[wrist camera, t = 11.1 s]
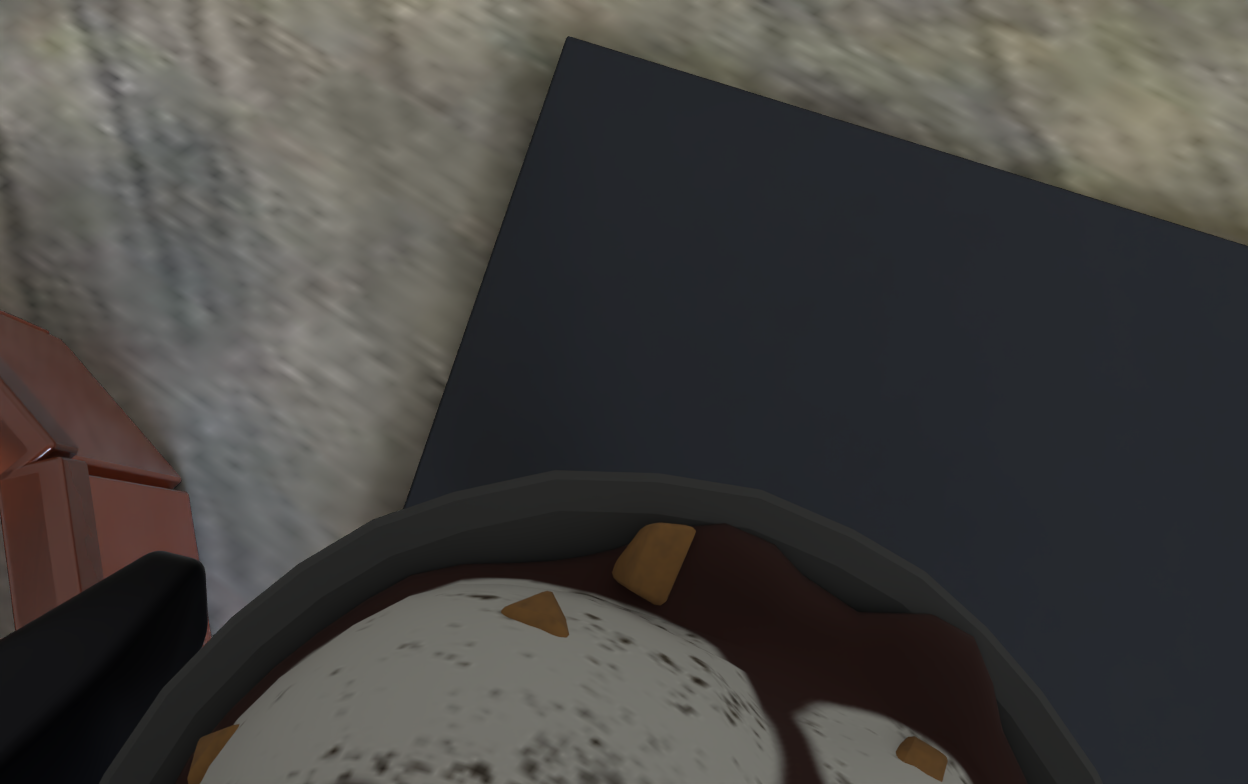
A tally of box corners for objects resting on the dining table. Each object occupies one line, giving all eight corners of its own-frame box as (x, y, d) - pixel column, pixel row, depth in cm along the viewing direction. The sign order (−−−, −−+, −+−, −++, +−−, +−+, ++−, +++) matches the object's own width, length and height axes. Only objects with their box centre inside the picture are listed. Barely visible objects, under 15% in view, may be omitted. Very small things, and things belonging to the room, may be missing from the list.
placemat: (1206, 1602, 14) (1222, 1630, 14) (147, 1260, 15) (135, 1279, 14) (1427, 311, 18) (1446, 306, 17) (567, 46, 18) (567, 34, 18)
